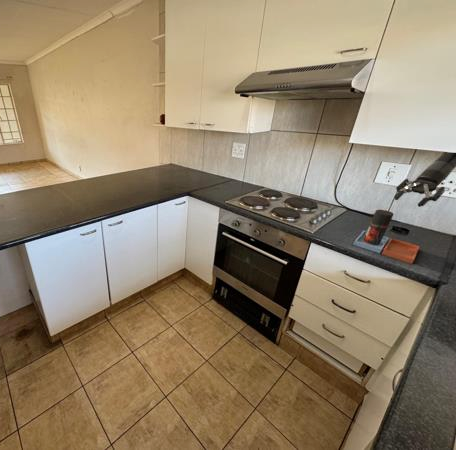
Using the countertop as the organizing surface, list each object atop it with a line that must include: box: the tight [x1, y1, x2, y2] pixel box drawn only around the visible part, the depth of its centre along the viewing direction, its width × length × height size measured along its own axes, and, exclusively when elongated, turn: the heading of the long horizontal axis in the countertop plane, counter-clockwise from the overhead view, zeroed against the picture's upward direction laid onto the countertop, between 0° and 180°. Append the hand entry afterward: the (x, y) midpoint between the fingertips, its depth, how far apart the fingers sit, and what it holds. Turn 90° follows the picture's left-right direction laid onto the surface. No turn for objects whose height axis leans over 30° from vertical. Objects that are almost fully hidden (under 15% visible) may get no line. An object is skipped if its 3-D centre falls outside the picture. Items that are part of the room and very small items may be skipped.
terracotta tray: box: [381, 237, 421, 265], centre depth 107 cm, size 10×15×2 cm, turn 130°
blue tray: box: [352, 230, 390, 254], centre depth 114 cm, size 10×15×2 cm, turn 130°
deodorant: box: [364, 209, 395, 245], centre depth 111 cm, size 6×6×15 cm
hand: (406, 202), depth 109 cm, fingers open, 8 cm apart
